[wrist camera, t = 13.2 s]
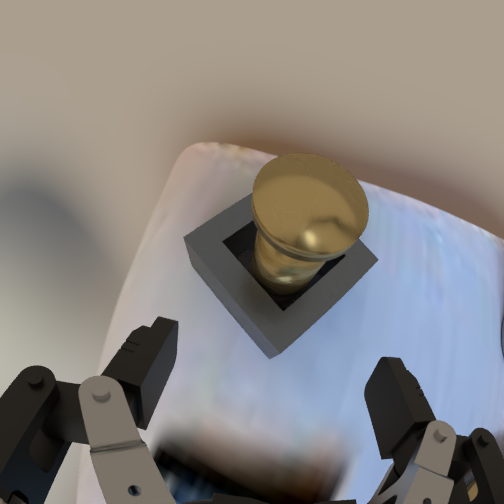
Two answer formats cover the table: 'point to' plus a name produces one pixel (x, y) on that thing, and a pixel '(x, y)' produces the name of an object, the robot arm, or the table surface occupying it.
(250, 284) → the box
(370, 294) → the table surface
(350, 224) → the brass flared peg
